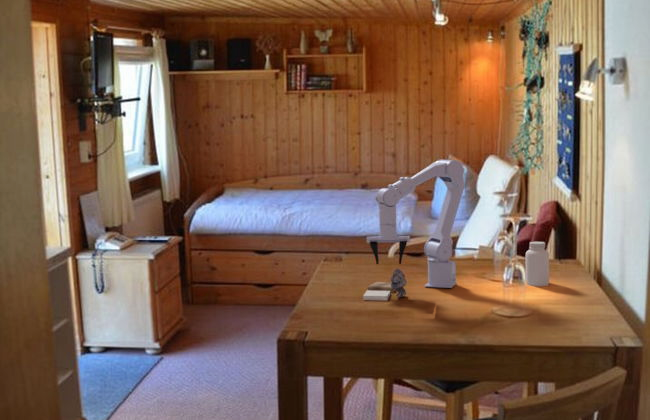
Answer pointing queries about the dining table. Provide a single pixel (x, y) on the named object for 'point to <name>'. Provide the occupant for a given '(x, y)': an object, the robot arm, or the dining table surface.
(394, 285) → the seashell
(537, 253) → the pill bottle
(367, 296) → the ceramic tile
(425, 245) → the robot arm
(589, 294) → the dining table surface
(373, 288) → the walnut base
